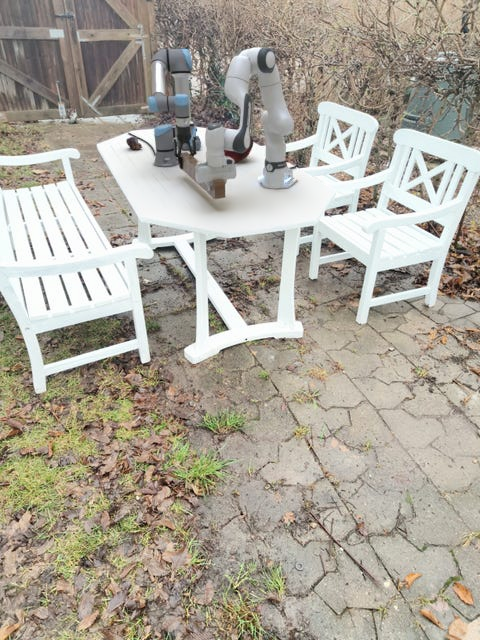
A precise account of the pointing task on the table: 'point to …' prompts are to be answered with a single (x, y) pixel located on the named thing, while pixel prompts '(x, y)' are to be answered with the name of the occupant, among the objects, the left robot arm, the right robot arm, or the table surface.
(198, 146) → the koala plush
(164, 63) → the left robot arm
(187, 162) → the bar
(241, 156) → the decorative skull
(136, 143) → the rock
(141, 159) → the table surface
